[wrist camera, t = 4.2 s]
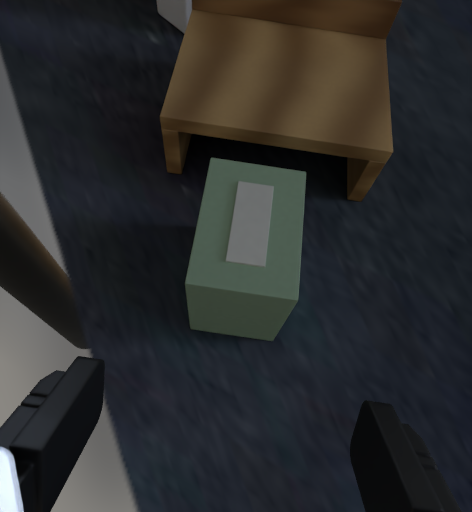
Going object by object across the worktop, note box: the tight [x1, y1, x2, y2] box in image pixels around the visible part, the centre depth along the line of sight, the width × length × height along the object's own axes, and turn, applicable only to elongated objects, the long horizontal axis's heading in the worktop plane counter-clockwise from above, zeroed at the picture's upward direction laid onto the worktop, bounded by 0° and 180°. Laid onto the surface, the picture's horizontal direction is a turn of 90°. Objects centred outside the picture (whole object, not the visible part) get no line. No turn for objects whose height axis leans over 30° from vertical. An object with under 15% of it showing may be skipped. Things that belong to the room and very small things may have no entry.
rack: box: [160, 0, 402, 201], centre depth 31 cm, size 16×13×9 cm
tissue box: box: [185, 158, 306, 341], centre depth 24 cm, size 6×8×8 cm
